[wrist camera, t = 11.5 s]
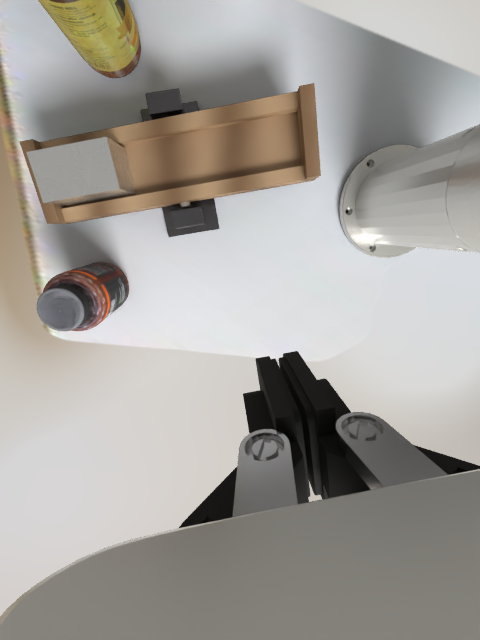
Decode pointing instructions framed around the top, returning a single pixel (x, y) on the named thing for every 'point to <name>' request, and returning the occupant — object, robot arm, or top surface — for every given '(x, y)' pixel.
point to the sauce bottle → (99, 32)
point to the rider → (82, 172)
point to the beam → (204, 155)
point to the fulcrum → (199, 212)
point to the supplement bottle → (82, 297)
